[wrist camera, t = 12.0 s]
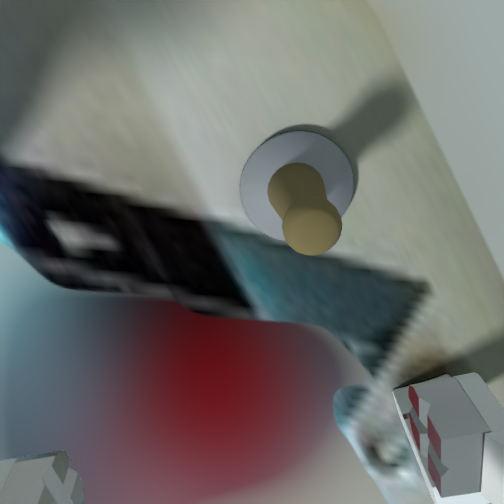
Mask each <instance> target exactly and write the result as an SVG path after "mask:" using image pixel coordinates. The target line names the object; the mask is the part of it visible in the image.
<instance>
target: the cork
mask: <svg viewBox="0 0 504 504" xmlns="http://www.w3.org/2000/svg"><path fill="white" fill-rule="evenodd" d="M267 194H268V199H269V202H270V204H271V205H272V207H273V208H274V210H275V211H276V213H277V214H278V215H279V217H280V218H281V220H282V221H283V222H282V230H283V235H284V238H285V240H286V241H287V243H288V245H289V246H290V247H292V248H293V249H294V250H295V251H297V252H299V253H302V254H304V255H317V254H321V253H324V252H325V251H327V250H329V249H331V248H332V247H333V246H334V245H335V244H336V242H337V241H338V239H339V237H340V235H341V230H342V221H341V216H340V214H339V212H338V210H337V208H336V207H335V206H334V205H333V204H332V203H331V202H330V201H328V200H327V195H326V191H325V187H324V182H323V179H322V177H321V175H320V173H319V172H318V171H317V170H316V169H315V168H314V167H312V166H310V165H308V164H305V163H297V162H295V163H291V164H286V165H285V166H283V167H281V168H279V169H278V170H277V171H276V172H275V173H274V174H273V175H272V177H271V179H270V181H269V183H268V189H267Z"/></svg>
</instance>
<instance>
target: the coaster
mask: <svg viewBox="0 0 504 504" xmlns="http://www.w3.org/2000/svg"><path fill="white" fill-rule="evenodd" d="M295 162H297V163H305V164H308V165H310V166H312V167H314V168H315V169H316V170H317V171H318V172H319V173H320V175H321V177H322V179H323V182H324V187H325V191H326V195H327V200H328V201H330V202H331V203H332V204H333V205H334V206H335V207H336V208H337V210H338V212H339V214H340V216H341V218H342V216H343V215H344V213H345V212H346V210H347V208H348V206H349V204H350V201H351V198H352V194H353V187H354V179H353V172H352V169H351V166H350V163H349V161H348V159H347V157H346V156H345V154H344V153H343V152H342V151H341V149H340V148H339V147H338V146H337V145H336V144H335V143H333V142H332V141H331V140H329V139H328V138H326V137H324V136H322V135H320V134H317V133H313V132H309V131H290V132H285V133H282V134H279V135H276V136H274V137H272V138H270V139H268V140H267V141H265V142H264V143H263V144H261V145H260V146H259V147H258V148H257V149H256V150H255V151H254V152H253V153H252V155H251V156H250V157H249V159H248V161H247V162H246V164H245V166H244V169H243V172H242V175H241V180H240V196H241V202H242V206H243V209H244V211H245V213H246V215H247V217H248V218H249V220H250V221H251V222H252V224H253V225H254V226H255V227H256V228H258V229H259V230H260V231H261V232H263V233H264V234H266V235H268V236H270V237H273V238H275V239H279V240H283V241H286V240H285V238H284V235H283V230H282V222H283V221H282V220H281V218H280V217H279V215H278V214H277V213H276V211H275V210H274V208H273V207H272V205H271V204H270V202H269V199H268V194H267V189H268V183H269V181H270V179H271V177H272V175H273V174H274V173H275V172H276V171H277V170H278V169H279V168H281V167H283V166H285V165H286V164H291V163H295Z"/></svg>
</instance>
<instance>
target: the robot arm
mask: <svg viewBox="0 0 504 504" xmlns="http://www.w3.org/2000/svg"><path fill="white" fill-rule="evenodd" d="M408 395H409V399H410V401H411V403H412V406H413V407H412V408H411V410H410V411H409V416H410V424H411V429H412V433H413V436H414V439H415V442H416V445H417V447H418V449H419V451H420V453H421V454H422V455H424V456H425V457H427V458H428V471H429V473H430V475H431V477H432V480H433V482H434V484H435V486H436V488H437V490H438V492H439V494H440V497H441V498H444V497H450V496H457V495H464V494H470V493H477V492H481V495H483V496H484V497H485V498H486V499H488V500H489V501H490V502H491V503H492V504H504V408H503V407H502V405H501V404H500V403H499V401H498V400H497V399H496V397H495V396H494V394H493V393H492V392H491V390H490V389H489V388H488V386H487V385H486V384H485V382H484V381H483V379H482V378H481V377H480V375H478V374H477V373H475V372H473V373H468V374H463V375H458V376H453V377H447V378H442V379H437V380H432V381H427V382H422V383H417V384H412V385H409V389H408ZM70 462H71V459H70V458H69V456H68V455H67V453H66V451H56V452H49V453H43V454H37V455H31V456H24V457H20V458H14V459H8V460H2V461H0V504H83V503H84V488H83V484H82V480H81V478H80V476H79V474H78V473H77V472H75V471H74V470H72V469H70V468H69V465H70Z"/></svg>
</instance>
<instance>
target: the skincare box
mask: <svg viewBox="0 0 504 504" xmlns="http://www.w3.org/2000/svg"><path fill="white" fill-rule="evenodd" d="M447 377H450V375H448V374H445V375H442V376H440V377H437V378H434V379H431V380H427V381H432V380H437V379H442V378H447ZM427 381H424V382H427ZM421 383H422V382H421ZM408 389H409V386H407V387H403V388H398V389H395V390H393V391H392V392H393V395H394V399H395V402H396V405H397V409H398V412H399V415H400V418H401V421H402V423H403V426H404V429H405V431H406V433H407V436H408V438H409V441H410V444H411V446H412V448H413V451H414V453H415V456H416V458H417V461H418V464H419V466H420V469H421V471H422V474H423V476H424V479H425V481H426V484H427V486H428V489H429V491H430V494H431V496H432V499H433V501H434V504H487V503H491V502H490V501H489V500H488V499H486V498H485V497H484V496H483V495H481V492H477V493H470V494H464V495H457V496H450V497H444V498H441V497H440V494H439V492H438V490H437V488H436V486H435V484H434V482H433V480H432V477H431V475H430V473H429V471H428V458H427V457H425V456H424V455H422V454H421V453H420V451H419V449H418V447H417V445H416V442H415V439H414V436H413V433H412V429H411V424H410V416H409V411H410V410H411V408H412V407H413V406H412V403H411V401H410V399H409V395H408Z"/></svg>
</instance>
